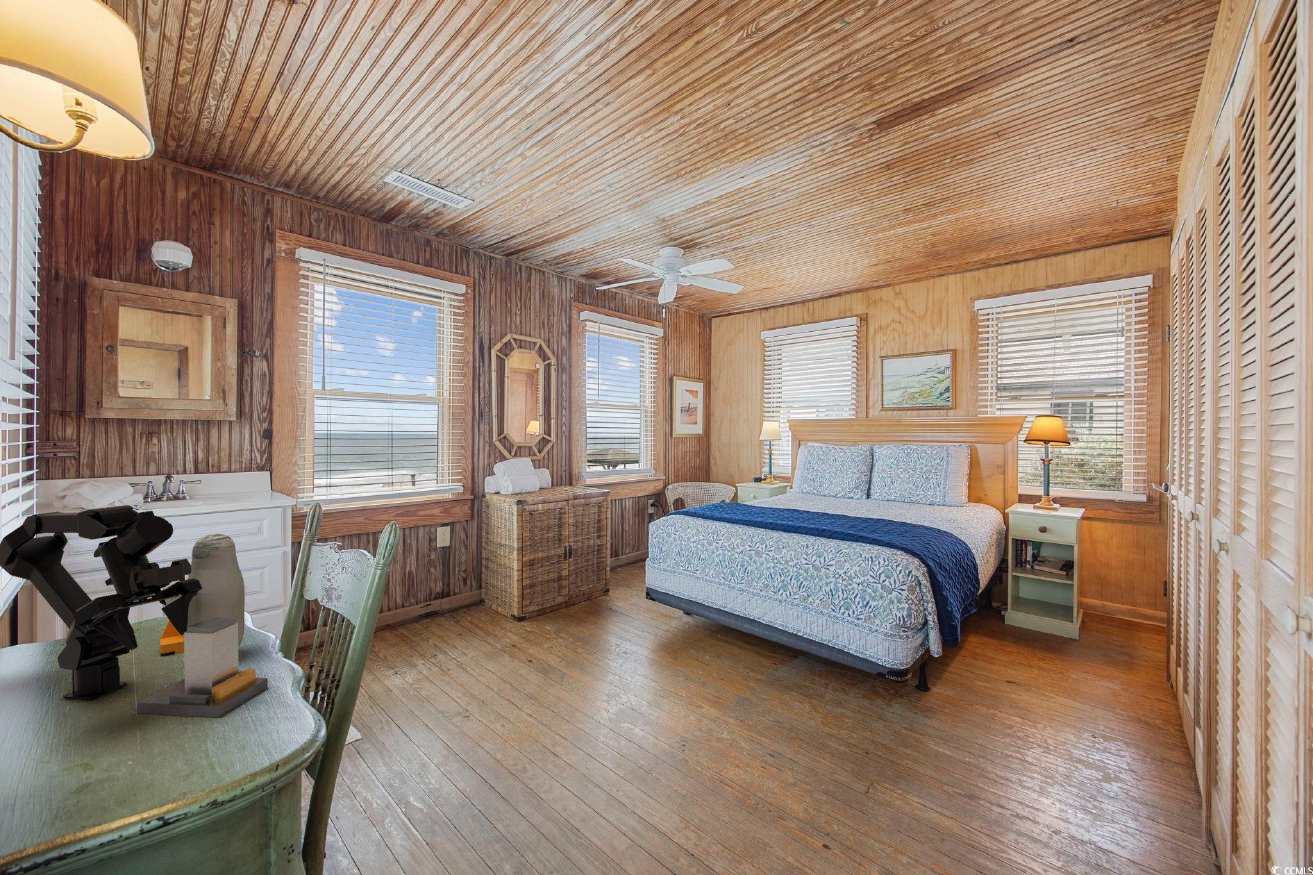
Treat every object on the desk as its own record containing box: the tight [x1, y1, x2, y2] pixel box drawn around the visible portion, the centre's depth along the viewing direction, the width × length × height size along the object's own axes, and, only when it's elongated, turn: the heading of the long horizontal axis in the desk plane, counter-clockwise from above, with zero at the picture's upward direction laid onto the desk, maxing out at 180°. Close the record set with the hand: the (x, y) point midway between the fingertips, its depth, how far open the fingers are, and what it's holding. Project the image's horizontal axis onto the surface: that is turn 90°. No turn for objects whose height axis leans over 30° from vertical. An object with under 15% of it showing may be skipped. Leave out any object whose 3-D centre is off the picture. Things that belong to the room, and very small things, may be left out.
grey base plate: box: [136, 668, 268, 718], centre depth 104 cm, size 16×11×4 cm
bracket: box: [159, 619, 184, 655], centre depth 128 cm, size 11×7×12 cm, turn 130°
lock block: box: [183, 617, 240, 698], centre depth 103 cm, size 6×6×13 cm
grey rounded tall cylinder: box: [186, 533, 246, 648], centre depth 121 cm, size 10×10×28 cm
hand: (160, 640), depth 102 cm, fingers open, 9 cm apart
